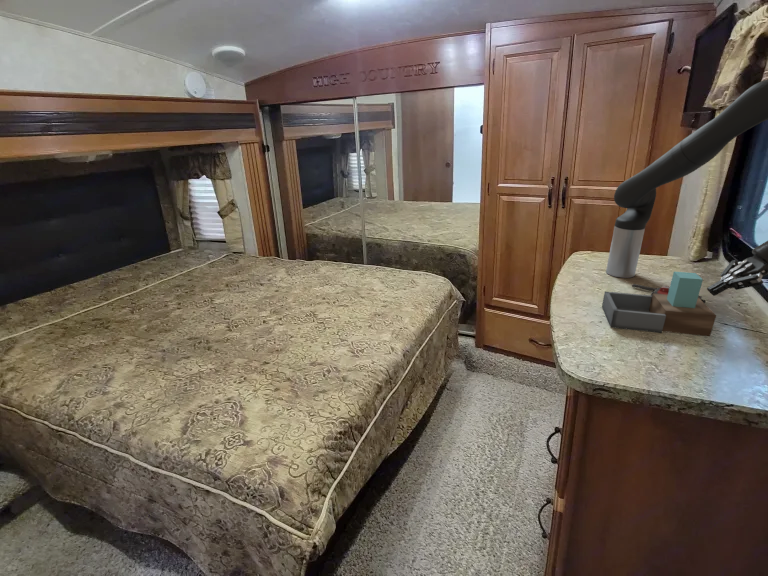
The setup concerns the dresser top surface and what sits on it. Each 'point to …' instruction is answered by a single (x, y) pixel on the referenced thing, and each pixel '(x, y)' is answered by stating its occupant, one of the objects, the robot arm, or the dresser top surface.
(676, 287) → the block
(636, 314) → the box
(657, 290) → the walkie-talkie
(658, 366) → the dresser top surface
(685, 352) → the dresser top surface
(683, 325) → the brown box
